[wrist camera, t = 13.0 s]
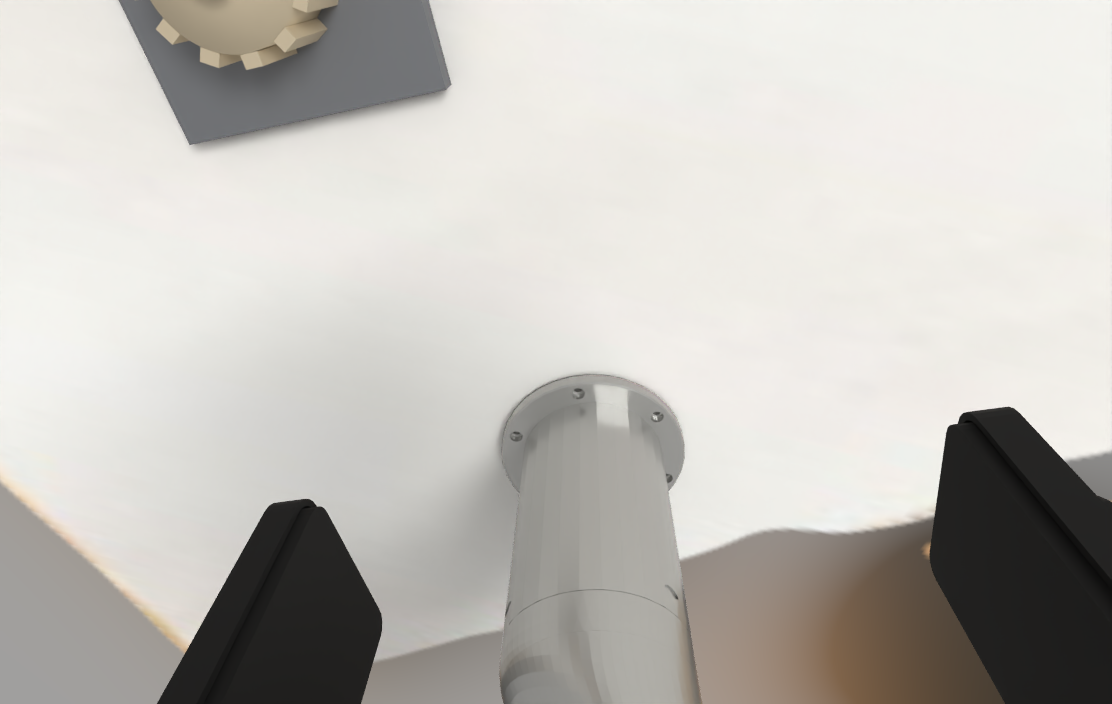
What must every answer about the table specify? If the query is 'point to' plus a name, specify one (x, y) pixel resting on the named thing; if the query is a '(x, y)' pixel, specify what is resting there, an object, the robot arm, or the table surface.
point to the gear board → (284, 58)
